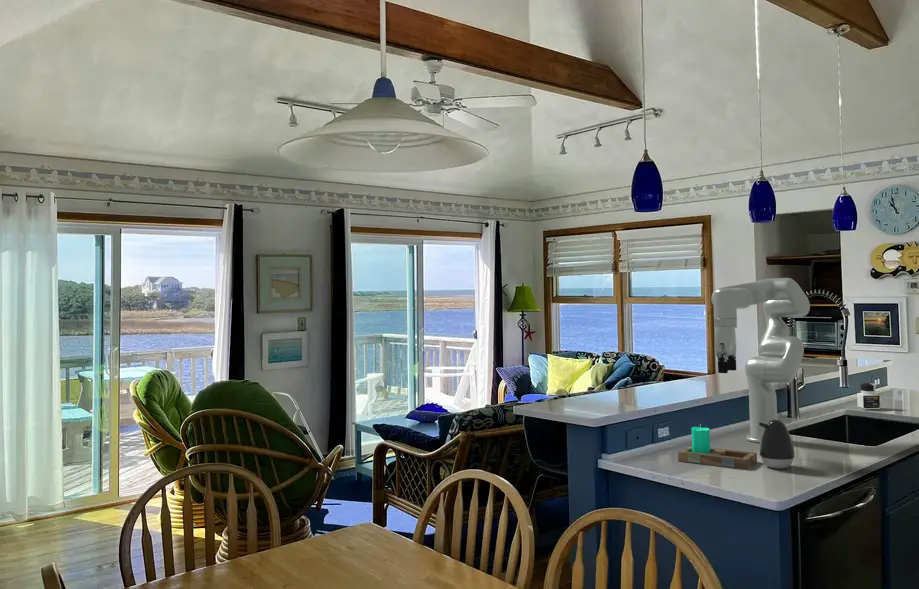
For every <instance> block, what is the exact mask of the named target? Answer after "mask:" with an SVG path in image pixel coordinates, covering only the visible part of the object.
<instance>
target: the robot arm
mask: <svg viewBox="0 0 919 589" xmlns="http://www.w3.org/2000/svg"><path fill="white" fill-rule="evenodd" d="M711 294H712V295H711V298H710V299H711V304H712V305H713V317H714V319H713V321H714V322H713V323H714V329H715V332H714V355H715V356H716V357H717V373H718V374H728V373H729V371H737V356H736V354H737V335H736V334H737V333H736V328H738V310H740V309H741V310H742V309H748V308H749V307H751V306H753V305H754V306H755V305H759V304H762V311H763V314H764V319H765V324H766V328H765V331H764V333H763V334H762V337H761V340H760V342H759V345H758V348H757V352H758V353H757V354H758V356H753V357H751V358H748V360H747V361H746V362H745V365H744V370H745V375H746V378H747V385H748V386H747V387H748V400H749V405H748V406H749V407H748V408H749V427H750V428H749V433H750V434H747V435H746V437H745V440H746V441H749V442H754V443H757V444H758V443H761V438H762V434H763V431H764V429H765V428H764V427H762V426H760V425H759V423H760V422H761V423H764V424H768V422H769V421H771V420H778V408H777V406H778V405H777V404H778V403H777V393H776V390H775V388H774V386H772V384H790V383H791V382H793V381H794V379H795V377H796V375H797V372H798V370H799V368H800V365H801V364H802V360H803V357H804V355H805V354H804V353H805V351H804V350H805V348H804V343H803V341H802V340H801V339H800V338H799V337H797V336H790V332H791V331H790V329H789V326H788V325H787V323H786V322H785V321H784V320H783V319H782V318H803V317H806V316H807V315H808V314H809V312H810V309H811V304H810V300H809V298H808V297H807V295H806V294H805V292H804V291H803V289H802V287H800V285H799V284H798V282H796V281H795V280H794V279H793V278H791V277H778V278H777V277H776V278H764V279H760V280H755V281H753V282H746V283H741V284H735V285H728V286H724V287H719V288H716V289H714V290H713V293H711ZM737 309H738V310H737ZM771 383H772V384H771Z"/></svg>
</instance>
